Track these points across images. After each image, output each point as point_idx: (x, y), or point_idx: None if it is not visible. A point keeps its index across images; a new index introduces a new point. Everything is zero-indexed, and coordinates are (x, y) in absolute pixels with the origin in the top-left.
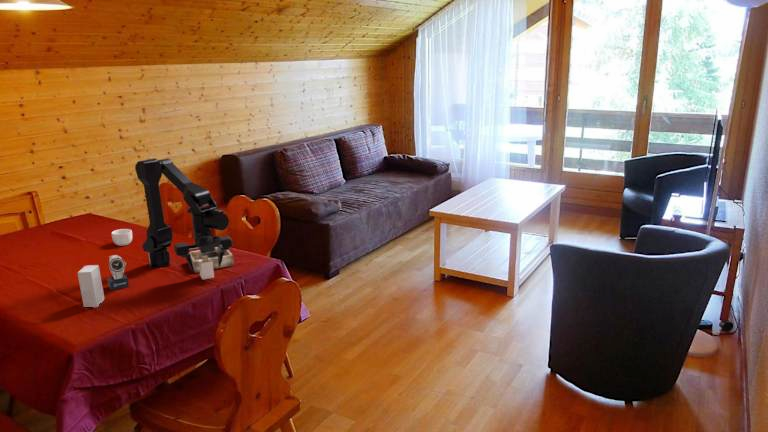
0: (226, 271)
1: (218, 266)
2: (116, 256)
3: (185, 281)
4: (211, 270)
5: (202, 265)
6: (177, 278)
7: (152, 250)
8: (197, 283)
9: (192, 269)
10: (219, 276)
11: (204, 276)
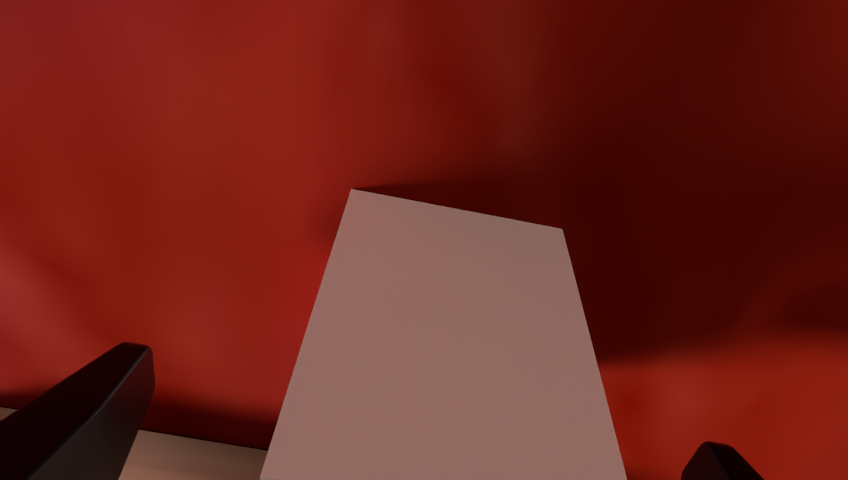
0: (90, 283)
1: (170, 459)
2: None
3: (802, 331)
4: (367, 288)
5: (582, 461)
6: (785, 471)
7: None
8: (741, 123)
9: (750, 477)
10: (252, 166)
11: (527, 252)
